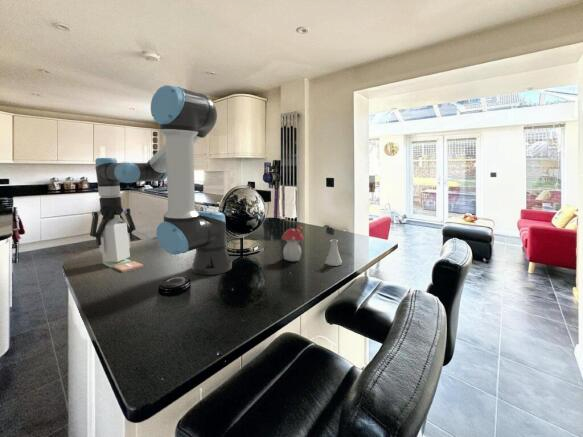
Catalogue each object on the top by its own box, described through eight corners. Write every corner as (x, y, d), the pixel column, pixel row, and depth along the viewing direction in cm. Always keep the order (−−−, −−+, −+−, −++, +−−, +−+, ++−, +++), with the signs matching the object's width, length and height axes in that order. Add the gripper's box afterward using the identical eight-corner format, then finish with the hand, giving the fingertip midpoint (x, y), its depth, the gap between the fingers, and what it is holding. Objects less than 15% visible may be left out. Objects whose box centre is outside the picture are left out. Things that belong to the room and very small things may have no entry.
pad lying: (143, 266, 121) (143, 264, 121) (122, 272, 115) (122, 269, 114) (134, 262, 126) (134, 260, 125) (113, 267, 119) (113, 265, 119)
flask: (345, 262, 125) (345, 239, 123) (337, 267, 119) (338, 243, 117) (329, 259, 129) (330, 237, 127) (321, 264, 123) (322, 241, 122)
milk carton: (117, 262, 121) (112, 216, 118) (102, 261, 122) (97, 215, 119) (130, 257, 128) (125, 213, 125) (116, 256, 129) (111, 213, 126)
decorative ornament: (305, 258, 131) (305, 225, 128) (299, 263, 125) (299, 228, 122) (285, 256, 134) (285, 223, 132) (279, 260, 128) (279, 226, 126)
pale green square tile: (131, 262, 126) (131, 260, 126) (110, 267, 120) (110, 265, 120) (122, 259, 131) (122, 256, 131) (102, 263, 125) (102, 261, 125)
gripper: (133, 194, 131) (138, 243, 135) (74, 198, 114) (82, 254, 118) (141, 195, 127) (146, 245, 131) (81, 199, 110) (89, 257, 114)
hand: (115, 249), depth 124 cm, fingers closed on milk carton, 9 cm apart
